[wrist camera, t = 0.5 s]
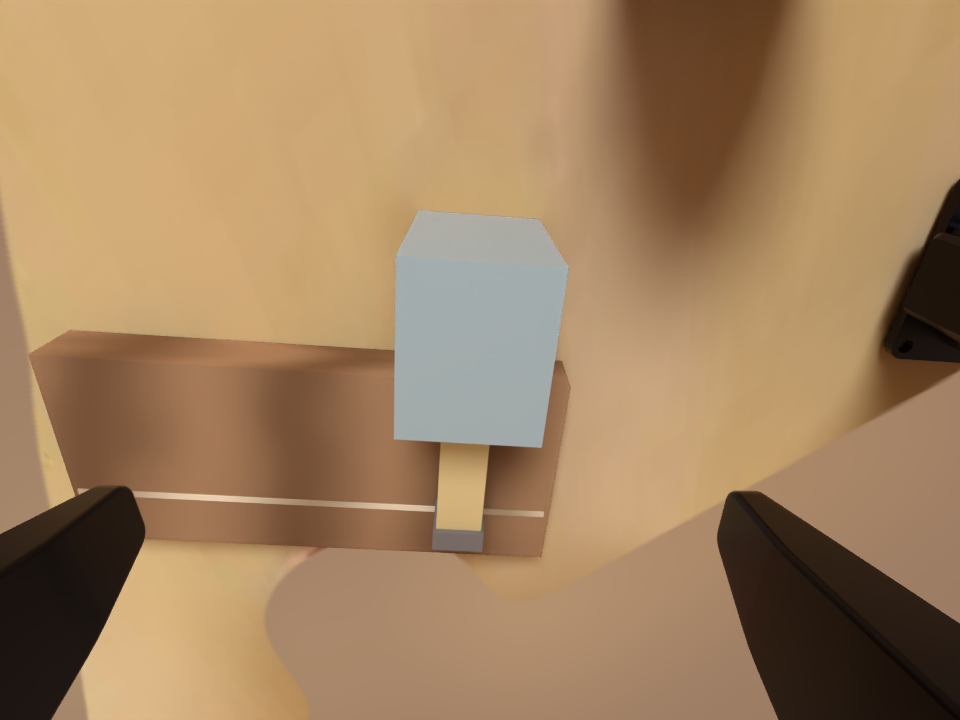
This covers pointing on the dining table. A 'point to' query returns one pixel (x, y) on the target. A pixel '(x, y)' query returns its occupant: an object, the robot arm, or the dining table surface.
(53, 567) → the robot arm
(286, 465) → the board
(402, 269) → the light blue block
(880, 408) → the dining table surface
